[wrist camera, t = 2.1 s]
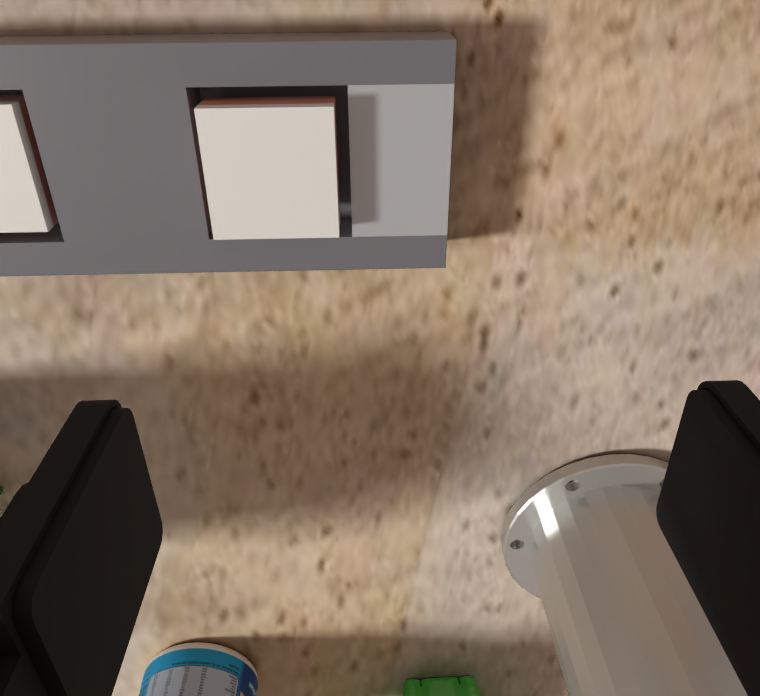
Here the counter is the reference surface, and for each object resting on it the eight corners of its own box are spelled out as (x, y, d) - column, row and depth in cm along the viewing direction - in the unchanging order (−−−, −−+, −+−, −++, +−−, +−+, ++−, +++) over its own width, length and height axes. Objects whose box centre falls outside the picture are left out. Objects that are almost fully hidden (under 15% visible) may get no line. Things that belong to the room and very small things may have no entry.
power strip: (447, 30, 26) (456, 39, 24) (438, 241, 31) (445, 267, 28) (-318, 39, 26) (-393, 49, 23) (-208, 253, 30) (-260, 281, 28)
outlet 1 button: (335, 96, 25) (333, 106, 23) (340, 219, 28) (339, 237, 26) (205, 97, 25) (194, 108, 23) (222, 221, 28) (213, 239, 26)
